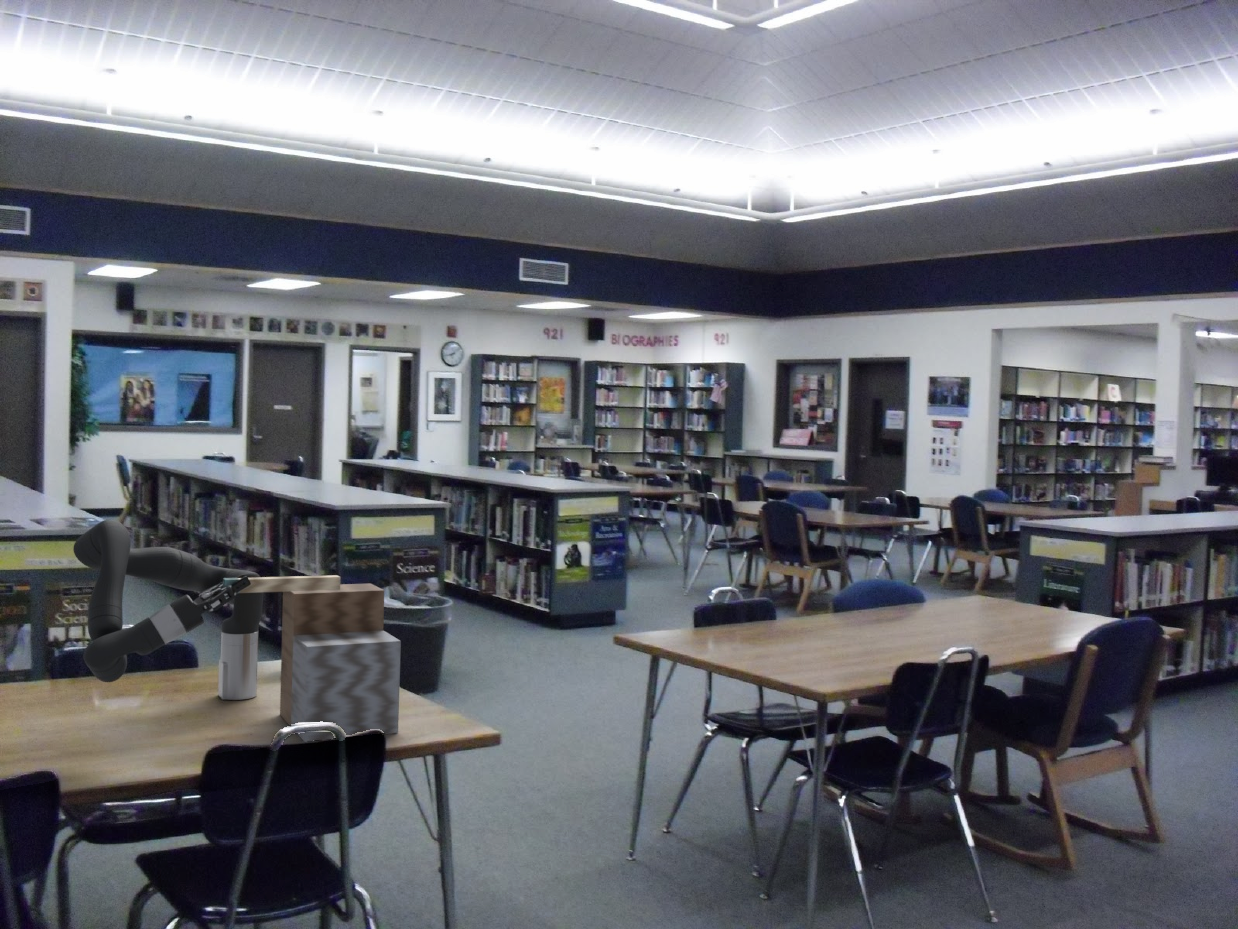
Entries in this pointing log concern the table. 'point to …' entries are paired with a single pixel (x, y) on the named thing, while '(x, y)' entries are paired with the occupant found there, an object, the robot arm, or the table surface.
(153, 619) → the robot arm
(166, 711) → the table surface
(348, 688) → the pedestal
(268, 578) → the beech bar
